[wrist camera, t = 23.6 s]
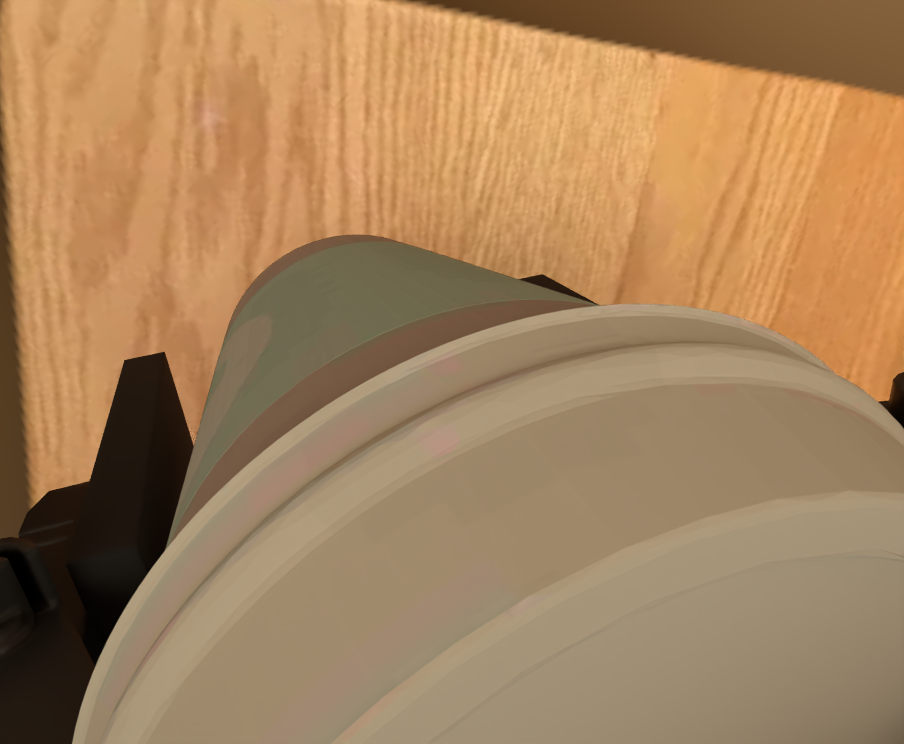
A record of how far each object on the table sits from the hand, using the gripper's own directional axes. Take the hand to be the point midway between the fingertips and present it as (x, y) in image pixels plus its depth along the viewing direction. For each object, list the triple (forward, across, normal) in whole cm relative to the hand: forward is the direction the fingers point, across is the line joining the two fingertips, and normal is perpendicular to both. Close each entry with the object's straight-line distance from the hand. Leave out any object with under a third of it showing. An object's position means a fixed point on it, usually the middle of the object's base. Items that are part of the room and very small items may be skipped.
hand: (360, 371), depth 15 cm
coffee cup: (+1, 0, 0) cm, 1 cm away
